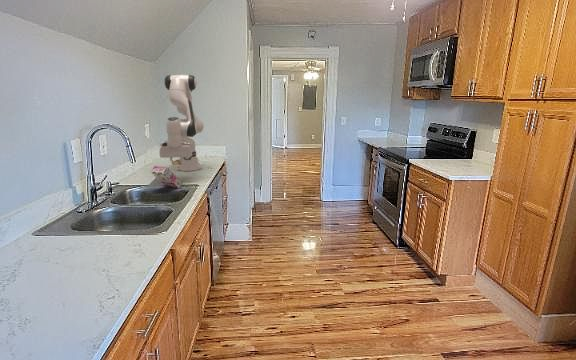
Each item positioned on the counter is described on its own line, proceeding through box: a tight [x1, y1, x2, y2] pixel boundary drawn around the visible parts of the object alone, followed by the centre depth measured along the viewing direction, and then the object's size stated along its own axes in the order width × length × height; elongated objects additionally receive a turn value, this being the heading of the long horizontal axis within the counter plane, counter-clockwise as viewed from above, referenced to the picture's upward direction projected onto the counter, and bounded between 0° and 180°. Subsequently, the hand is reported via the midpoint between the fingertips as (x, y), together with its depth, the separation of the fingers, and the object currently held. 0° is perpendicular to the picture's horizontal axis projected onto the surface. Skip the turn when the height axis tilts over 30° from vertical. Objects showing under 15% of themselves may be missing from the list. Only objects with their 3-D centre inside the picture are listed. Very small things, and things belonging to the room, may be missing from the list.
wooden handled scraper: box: [167, 159, 181, 170], centre depth 215 cm, size 17×6×3 cm, turn 4°
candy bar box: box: [150, 165, 183, 189], centre depth 203 cm, size 11×5×16 cm
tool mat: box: [147, 176, 165, 187], centre depth 222 cm, size 24×10×1 cm, turn 8°
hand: (177, 163), depth 217 cm, fingers closed on wooden handled scraper, 3 cm apart
